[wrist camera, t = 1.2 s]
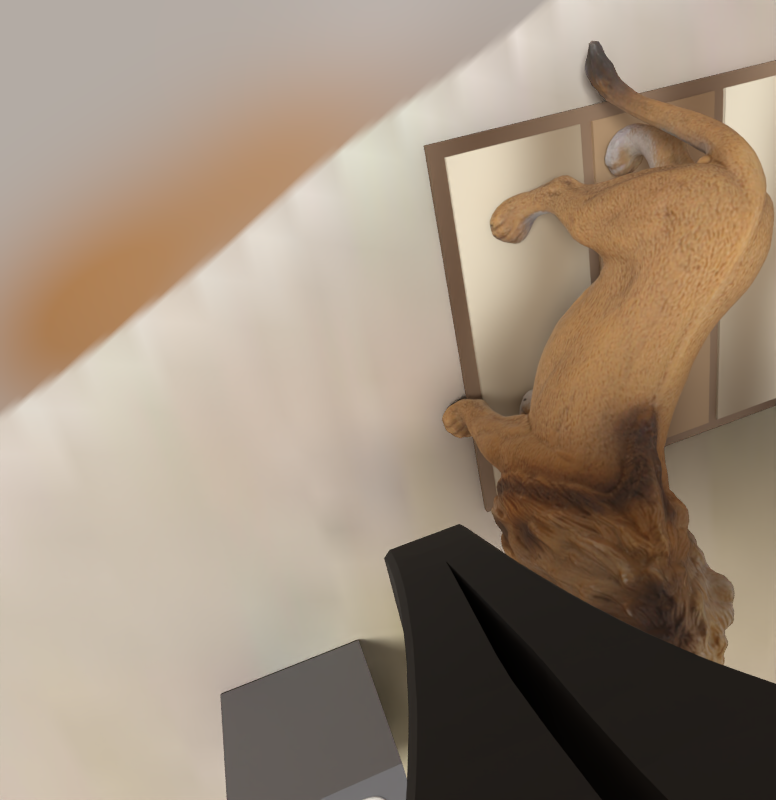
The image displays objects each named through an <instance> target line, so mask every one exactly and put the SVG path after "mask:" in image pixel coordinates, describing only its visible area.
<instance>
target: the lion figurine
mask: <svg viewBox="0 0 776 800" xmlns="http://www.w3.org/2000/svg"><path fill="white" fill-rule="evenodd" d="M585 71H586V75H587V77H588V78H589V80H590V82H591V84H592V86H593V87H595V88H596V89H597V90H598V92H599V93H600V94H601V95H602V96H603V97H604V98H605V100H606V101H608V102H609V103H611V104H613V105H614V106H616V107H618V108H620V109H621V110H623V111H625V112H626V113H628V114H629V115H631V116H633V117H635V118H637V119H639V120H642V121H644V122H646V123H648V124H642V123H634V124H631V125H628V126H626V127H624V128H623V129H621V130H619V131H618V132H617V133H616V134H615V135H614V137H613V138H612V140H611V141H610V143H609V145H608V148H607V152H606V156H605V163H606V165H607V167H608V168H609V170H610V171H611V173H612V174H613V175H615V176H618V177H616V178H613V179H610V180H607V181H603V182H599V183H596V184H588V185H587V184H583V183H581V182H579V181H577V180H576V179H574V178H573V177H570V176H568V175H562V176H559V177H556V178H555V179H553V180H551V181H549V182H548V183H546V184H544V185H542V186H540V187H538V188H536V189H533V190H531V191H528V192H524V193H520V194H517V195H515V196H512V197H510V198H508V199H507V200H505V201H504V202H503V203H501V204H500V205H499V206H498V207H497V208H496V210H495V211H494V213H493V214H492V217H491V219H490V229H491V232H492V235H493V236H494V237H495V238H496V239H498V240H500V241H503V242H506V243H513V244H516V243H520V242H521V241H523V240H524V239H525V238H526V236H527V235H528V233H529V231H530V229H531V227H532V225H533V223H534V221H535V219H536V218H537V217H538V216H540V215H543V214H546V213H550V214H553V215H555V216H556V217H557V218H558V219H559V220H560V222H561V223H562V224H563V225H564V226H565V228H566V229H567V230H568V232H569V233H570V235H571V236H572V238H573V239H574V240H576V241H577V242H579V243H580V244H582V245H584V246H586V247H588V248H591V249H593V250H594V251H596V252H597V253H598V254H599V255H600V256H601V257H602V259H603V264H604V265H603V268H602V270H601V272H600V275H599V277H598V278H597V279H596V281H595V282H594V283H592V284H591V285H590V286H589V287H588V288H587V289H586V290H585V291H584V292H583V293H582V294H581V296H580V297H579V298H578V299H577V300H576V301H575V302H574V303H573V304H572V305H571V307H570V308H569V309H568V310H567V312H566V313H565V314H564V315H563V316H562V317H561V318H560V320H559V321H558V322H557V324H556V326H555V328H554V329H553V331H552V333H551V335H550V337H549V339H548V341H547V343H546V345H545V347H544V350H543V352H542V355H541V358H540V361H539V363H538V367H537V371H536V376H535V381H534V386H533V389H532V390H530V391H528V392H527V393H526V394H525V395H524V396H523V399H522V402H521V405H520V411H519V415H513V416H507V417H505V416H502V415H501V414H499V413H497V412H495V411H494V410H492V409H491V407H490V406H489V405H488V403H487V402H486V401H484V400H482V399H475V400H474V399H462V400H459V401H457V402H456V403H454V404H452V405H451V406H449V407H448V408H447V410H446V411H445V413H444V415H443V418H442V421H443V423H444V426H445V428H446V430H447V431H448V432H449V433H451V434H452V435H454V436H456V437H458V438H462V437H470V436H472V437H473V438H474V440H475V442H476V444H477V446H478V448H479V450H480V452H481V453H482V454H483V456H484V457H485V458H486V459H487V460H488V461H489V462H490V463H491V464H492V465H493V466H494V467H496V468H497V469H498V470H499V471H500V472H501V478H500V479H499V481H498V483H497V487H496V488H497V496H496V497H495V498H494V505H493V508H492V509H491V512H492V514H493V516H494V519H495V522H496V524H497V525H498V527H499V528H500V529H501V531H502V532H503V533H502V536H501V543H502V547H503V549H504V551H505V553H506V555H508V556H509V557H511V558H513V559H514V560H516V561H517V562H519V563H520V564H522V565H523V566H525V567H527V568H528V569H530V570H532V571H533V572H535V573H536V574H538V575H540V576H542V577H543V578H545V579H547V580H548V581H550V582H552V583H553V584H555V585H557V586H559V587H560V588H562V589H564V590H565V591H567V592H569V593H571V594H572V595H574V596H576V597H578V598H580V599H581V600H583V601H585V602H587V603H589V604H590V605H592V606H594V607H596V608H598V609H600V610H602V611H604V612H606V613H608V614H610V615H612V616H614V617H615V618H617V619H619V620H621V621H623V622H625V623H627V624H629V625H631V626H633V627H636V628H638V629H640V630H642V631H644V632H646V633H648V634H650V635H652V636H655V637H657V638H659V639H661V640H663V641H666V642H668V643H670V644H673V645H675V646H677V647H680V648H682V649H684V650H687V651H689V652H691V653H694V654H696V655H698V656H701V657H703V658H706V659H708V660H711V661H714V662H716V663H719V664H721V665H723V664H724V659H725V658H724V652H725V650H726V648H727V646H728V641H727V638H726V636H725V629H727V628H728V627H729V626H730V625H731V624H732V623H733V621H734V609H733V599H734V588H733V585H732V583H731V582H730V581H729V580H728V578H726V577H725V576H724V575H721V574H719V573H716V572H715V571H713V570H712V569H710V567H709V566H708V564H707V562H706V560H705V557H704V554H703V552H702V551H701V549H700V548H699V547H698V546H697V542H696V539H695V537H694V535H693V534H692V533H691V532H690V531H689V530H688V524H689V514H688V509H687V508H686V506H685V505H684V504H683V503H682V502H681V501H680V500H679V499H678V498H677V497H676V496H675V494H674V493H673V492H672V491H671V490H669V483H668V474H667V469H666V464H665V454H664V447H665V443H666V439H667V434H668V430H669V426H670V423H671V419H672V416H673V413H674V410H675V408H676V405H677V402H678V400H679V397H680V395H681V393H682V391H683V389H684V386H685V384H686V382H687V380H688V377H689V374H690V371H691V368H692V365H693V363H694V361H695V359H696V357H697V355H698V353H699V351H700V349H701V348H702V346H703V344H704V342H705V340H706V339H707V337H708V335H709V334H710V332H711V331H712V329H713V328H714V327H715V325H716V324H717V323H718V322H719V320H720V319H721V318H722V317H723V316H724V315H725V314H726V313H727V312H728V310H729V309H730V308H731V307H732V306H733V305H734V304H735V303H736V302H737V301H738V300H739V299H740V298H741V296H742V295H743V294H744V293H745V292H746V291H747V290H748V288H749V287H750V286H751V284H752V283H753V282H754V280H755V278H756V277H757V275H758V273H759V272H760V270H761V268H762V266H763V264H764V262H765V260H766V258H767V255H768V253H769V250H770V247H771V241H772V234H773V226H774V206H773V201H772V199H771V197H770V196H769V194H768V193H767V192H766V188H767V184H766V177H765V174H764V171H763V168H762V165H761V162H760V160H759V158H758V156H757V154H756V152H755V151H754V149H753V148H752V147H751V146H750V145H749V143H748V142H747V141H746V140H745V139H744V138H743V137H742V136H741V135H740V134H738V133H737V132H736V131H735V130H734V129H732V128H731V127H729V126H728V125H726V124H724V123H722V122H720V121H718V120H716V119H713V118H711V117H708V116H706V115H703V114H701V113H698V112H695V111H692V110H688V109H684V108H681V107H678V106H675V105H671V104H668V103H665V102H661V101H658V100H654V99H651V98H648V97H645V96H643V95H641V94H639V93H637V92H635V91H634V90H633V89H632V88H630V87H629V86H628V85H627V84H625V83H624V82H623V81H622V80H621V79H620V77H619V76H618V74H617V73H616V70H615V68H614V65H613V63H612V62H611V61H610V60H609V59H608V58H607V56H606V55H605V53H604V50H603V48H602V46H601V44H600V43H599V42H598V41H591V42H590V43H589V49H588V55H587V59H586V64H585ZM649 124H650V125H649ZM688 144H689V145H690V146H692V147H694V148H696V149H697V150H699V151H701V152H703V153H705V154H706V155H705V156H703V157H701V158H700V159H699V160H698V161H697V162H696V163H695V162H694V161H693V160H692V158H691V156H690V154H689V151H688ZM644 157H645V158H646V160H647V162H648V164H649V166H650V168H649V169H644V170H641V171H638V172H634V171H635V170H636V169H637V168H638V166H639V165H640V164H641V163H642V161H643V159H644ZM631 172H634V173H631ZM628 173H630V174H628Z"/></svg>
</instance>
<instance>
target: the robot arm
mask: <svg viewBox="0 0 776 800" xmlns="http://www.w3.org/2000/svg"><path fill="white" fill-rule="evenodd" d="M384 559H385V563H386V566H387V570H388V574H389V578H390V582H391V585H392V589H393V593H394V597H395V601H396V604H397V608H398V612H399V616H400V620H401V623H402V627H403V631H404V640H405V648H406V660H407V683H408V710H409V735H408V772H407V791H406V800H776V684H775V683H772V682H769V681H766V680H763V679H760V678H758V677H755V676H752V675H749V674H746V673H743V672H740V671H737V670H735V669H732V668H729V667H727V666H724V665H721V664H719V663H716V662H714V661H711V660H708V659H706V658H703V657H701V656H698V655H696V654H694V653H691V652H689V651H687V650H684V649H682V648H680V647H677V646H675V645H673V644H670V643H668V642H666V641H663V640H661V639H659V638H657V637H655V636H652V635H650V634H648V633H646V632H644V631H642V630H640V629H638V628H636V627H633V626H631V625H629V624H627V623H625V622H623V621H621V620H619V619H617V618H615V617H614V616H612V615H610V614H608V613H606V612H604V611H602V610H600V609H598V608H596V607H594V606H592V605H590V604H589V603H587V602H585V601H583V600H581V599H580V598H578V597H576V596H574V595H572V594H571V593H569V592H567V591H565V590H564V589H562V588H560V587H559V586H557V585H555V584H553V583H552V582H550V581H548V580H547V579H545V578H543V577H542V576H540V575H538V574H536V573H535V572H533V571H532V570H530V569H528V568H527V567H525V566H523V565H522V564H520V563H519V562H517V561H516V560H514V559H513V558H511V557H509V556H508V555H506V554H505V553H503V552H502V551H500V550H499V549H497V548H496V547H494V546H493V545H491V544H490V543H488V542H487V541H485V540H484V539H482V538H481V537H479V536H478V535H476V534H475V533H473V532H472V531H471V530H469V529H468V528H466V527H464V526H462V525H460V524H458V525H456V526H453V527H450V528H448V529H445V530H442V531H440V532H437V533H434V534H431V535H429V536H426V537H423V538H421V539H418V540H415V541H413V542H410V543H407V544H405V545H402V546H399V547H396V548H394V549H391V550H389V552H388V553H387V555H386V556H385V558H384Z"/></svg>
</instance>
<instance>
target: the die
mask: <svg viewBox="0 0 776 800" xmlns="http://www.w3.org/2000/svg"><path fill="white" fill-rule="evenodd" d="M221 711H222V727H223V744H224V761H225V777H226V794H227V800H406V791H407V778H406V775H405V771H404V768H403V765H402V762H401V759H400V756H399V753H398V750H397V748H396V745H395V742H394V739H393V736H392V733H391V730H390V728H389V725H388V722H387V719H386V716H385V713H384V711H383V708H382V705H381V702H380V699H379V696H378V694H377V691H376V688H375V685H374V682H373V679H372V677H371V674H370V671H369V668H368V665H367V662H366V660H365V657H364V654H363V651H362V648H361V645H360V643H359V640H357V641H355V642H352V643H350V644H347V645H345V646H342V647H340V648H337V649H335V650H332V651H330V652H327V653H325V654H322V655H319V656H317V657H314V658H312V659H309V660H307V661H304V662H302V663H299V664H297V665H294V666H292V667H289V668H287V669H284V670H282V671H279V672H276V673H274V674H271V675H269V676H266V677H264V678H261V679H259V680H256V681H254V682H251V683H249V684H246V685H244V686H241V687H239V688H236V689H233V690H231V691H228V692H226V693H223V694H221Z"/></svg>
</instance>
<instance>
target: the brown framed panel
mask: <svg viewBox="0 0 776 800" xmlns="http://www.w3.org/2000/svg"><path fill="white" fill-rule="evenodd" d="M639 94H641V95H643V96H645V97H648V98H651V99H654V100H658V101H661V102H665V103H668V104H671V105H675V106H678V107H681V108H684V109H688V110H692V111H695V112H698V113H701V114H703V115H706V116H708V117H711V118H713V119H716V120H718V121H720V122H722V123H724V124H726V125H728V126H729V127H731V128H732V129H734V130H735V131H736V132H737V133H738V134H740V135H741V136H742V137H743V138H744V139H745V140H746V141H747V142H748V143H749V145H750V146H751V147H752V148H753V149H754V151H755V152H756V154H757V156H758V158H759V160H760V162H761V165H762V168H763V171H764V174H765V177H766V184H767V188H766V192H767V193H768V194H769V196H770V197H771V199H772V201H773V206H774V226H773V234H772V241H771V247H770V250H769V253H768V255H767V258H766V260H765V262H764V264H763V266H762V268H761V270H760V272H759V273H758V275H757V277H756V278H755V280H754V282H753V283H752V284H751V286H750V287H749V288H748V290H747V291H746V292H745V293H744V294H743V295H742V296H741V298H740V299H739V300H738V301H737V302H736V303H735V304H734V305H733V306H732V307H731V308H730V309H729V310H728V312H727V313H726V314H725V315H724V316H723V317H722V318H721V319H720V320H719V322H718V323H717V324H716V325H715V327H714V328H713V329H712V331H711V332H710V334H709V335H708V337H707V339H706V340H705V342H704V344H703V346H702V348H701V349H700V351H699V353H698V355H697V357H696V359H695V361H694V363H693V365H692V368H691V371H690V374H689V377H688V380H687V382H686V384H685V386H684V389H683V391H682V393H681V395H680V397H679V400H678V402H677V405H676V408H675V410H674V413H673V416H672V419H671V423H670V426H669V430H668V434H667V439H666V443H665V446H667V445H670V444H672V443H675V442H678V441H681V440H683V439H686V438H689V437H691V436H694V435H697V434H699V433H702V432H705V431H708V430H710V429H713V428H716V427H718V426H721V425H724V424H727V423H729V422H732V421H735V420H737V419H740V418H743V417H745V416H748V415H751V414H754V413H756V412H759V411H762V410H764V409H767V408H770V407H772V406H775V405H776V60H775V61H770V62H766V63H762V64H758V65H754V66H750V67H746V68H742V69H737V70H733V71H729V72H725V73H721V74H717V75H713V76H709V77H705V78H700V79H696V80H692V81H688V82H684V83H680V84H676V85H672V86H667V87H663V88H659V89H655V90H651V91H647V92H643V93H639ZM634 123H642V124H648V123H646V122H644V121H642V120H639V119H637V118H635V117H633V116H631V115H629V114H628V113H626V112H625V111H623V110H621V109H620V108H618V107H616V106H614V105H613V104H611V103H609V102H608V101H606V102H602V103H597V104H593V105H589V106H585V107H581V108H577V109H573V110H569V111H565V112H560V113H556V114H552V115H548V116H544V117H540V118H536V119H532V120H527V121H523V122H519V123H515V124H511V125H507V126H503V127H499V128H495V129H490V130H486V131H482V132H478V133H474V134H470V135H466V136H462V137H458V138H453V139H449V140H445V141H441V142H437V143H433V144H429V145H425V146H424V150H425V156H426V162H427V168H428V174H429V180H430V186H431V192H432V197H433V203H434V209H435V215H436V221H437V227H438V233H439V239H440V245H441V251H442V257H443V263H444V269H445V275H446V281H447V287H448V293H449V299H450V305H451V310H452V316H453V322H454V328H455V334H456V340H457V346H458V352H459V358H460V364H461V370H462V376H463V382H464V388H465V394H466V399H474V400H475V399H482V400H484V401H486V402H487V403H488V405H489V406H490V407H491V409H492V410H494V411H495V412H497V413H499V414H501V415H502V416H505V417H507V416H513V415H519V411H520V405H521V402H522V399H523V396H524V395H525V394H526V393H527V392H528V391H530V390H532V389H533V386H534V381H535V376H536V371H537V367H538V363H539V361H540V358H541V355H542V352H543V350H544V347H545V345H546V343H547V341H548V339H549V337H550V335H551V333H552V331H553V329H554V328H555V326H556V324H557V322H558V321H559V320H560V318H561V317H562V316H563V315H564V314H565V313H566V312H567V310H568V309H569V308H570V307H571V305H572V304H573V303H574V302H575V301H576V300H577V299H578V298H579V297H580V296H581V294H582V293H583V292H584V291H585V290H586V289H587V288H588V287H589V286H590V285H591V284H592V283H594V282H595V281H596V279H597V278H598V277H599V275H600V272H601V270H602V268H603V265H604V264H603V259H602V257H601V256H600V255H599V254H598V253H597V252H596V251H594V250H593V249H591V248H588V247H586V246H584V245H582V244H580V243H579V242H577V241H576V240H574V239H573V238H572V236H571V235H570V233H569V232H568V230H567V229H566V228H565V226H564V225H563V224H562V223H561V222H560V220H559V219H558V218H557V217H556V216H555V215H553V214H550V213H546V214H543V215H540V216H538V217H537V218H536V219H535V221H534V223H533V225H532V227H531V229H530V231H529V233H528V235H527V236H526V238H525V239H524V240H523V241H521V242H520V243H516V244H513V243H506V242H503V241H500V240H498V239H496V238H495V237H494V236H493V235H492V232H491V229H490V219H491V217H492V214H493V213H494V211H495V210H496V208H497V207H498V206H499V205H500V204H501V203H503V202H504V201H505V200H507V199H508V198H510V197H512V196H515V195H517V194H520V193H524V192H528V191H531V190H533V189H536V188H538V187H540V186H542V185H544V184H546V183H548V182H549V181H551V180H553V179H555V178H556V177H559V176H562V175H568V176H570V177H573V178H574V179H576V180H577V181H579V182H581V183H583V184H587V185H588V184H596V183H599V182H603V181H607V180H610V179H613V178H616V177H618V176H615V175H613V174H612V173H611V171H610V170H609V168H608V167H607V165H606V163H605V156H606V152H607V148H608V145H609V143H610V141H611V140H612V138H613V137H614V135H615V134H616V133H617V132H618V131H619V130H621V129H623V128H624V127H626V126H628V125H631V124H634ZM649 125H650V124H649ZM688 151H689V154H690V156H691V158H692V160H693V161H694V162H695V163H696V162H697V161H698V160H699V159H700V158H701V157H703V156H705V155H706V154H705V153H703V152H701V151H699V150H697V149H696V148H694V147H692V146H690V145H689V144H688ZM649 168H650V166H649V164H648V162H647V160H646V158H645V157H644V159H643V161H642V163H641V164H640V165H639V166H638V168H637V169H636V170H635V171H634V172H638V171H641V170H644V169H649ZM634 172H631V173H634ZM628 174H630V173H628ZM473 441H474V447H475V453H476V459H477V465H478V471H479V477H480V483H481V489H482V495H483V501H484V507H485V510H486V511H487V512H489V511H491V509H492V508H493V505H494V498H495V497H496V496H497V488H496V487H497V483H498V481H499V479H500V478H501V472H500V471H499V470H498V469H497V468H496V467H494V466H493V465H492V464H491V463H490V462H489V461H488V460H487V459H486V458H485V457H484V456H483V454H482V453H481V452H480V450H479V448H478V446H477V444H476V442H475V440H474V438H473Z"/></svg>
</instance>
